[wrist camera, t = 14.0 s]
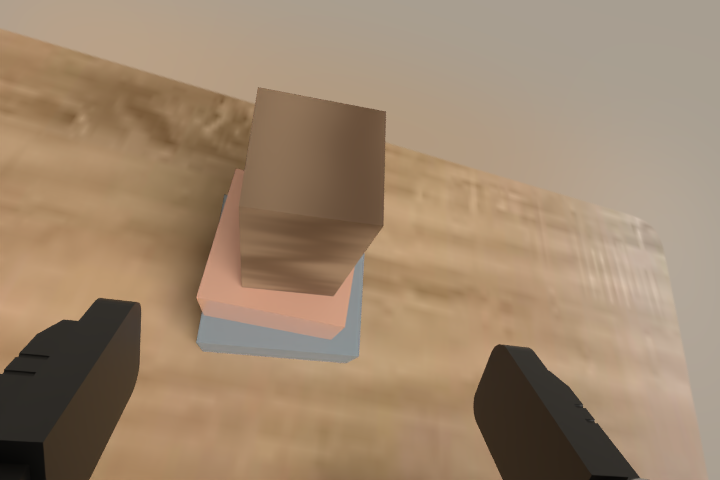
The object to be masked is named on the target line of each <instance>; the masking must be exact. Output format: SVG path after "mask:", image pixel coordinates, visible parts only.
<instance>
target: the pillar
mask: <svg viewBox="0 0 720 480" xmlns="http://www.w3.org/2000/svg"><path fill="white" fill-rule="evenodd" d="M385 121H386V112H385V111H379V110H375V109H369V108H364V107H359V106H353V105H348V104H343V103H337V102H332V101H327V100H321V99H317V98H311V97H306V96H301V95H296V94H290V93H285V92H280V91H275V90H269V89H264V88H258V91H257V97H256V103H255V109H254V115H253V121H252V128H251V134H250V140H249V146H248V152H247V158H246V164H245V171H244V177H243V183H242V189H241V195H240V201H239V228H240V255H241V282H242V287H246V288H255V289H265V290H275V291H285V292H295V293H305V294H315V295H324V296H334V295H335V294H336V292H337V291H338V289H339V288H340V286H341V285H342V284H343V282H344V281H345V279H346V278H347V277H348V275H349V274H350V272H351V271H352V269H353V268H354V267H355V265H356V264H357V262H358V261H359V260H360V258H361V257H362V255H363V254H364V253H365V251H366V250H367V248H368V247H369V245H370V244H371V243H372V241H373V240H374V238H375V237H376V236H377V234H378V233H379V231H380V230H381V229H382V227H383V219H384V173H385V128H386V125H385V124H386V122H385Z"/></svg>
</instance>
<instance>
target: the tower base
mask: <svg viewBox="0 0 720 480" xmlns="http://www.w3.org/2000/svg"><path fill="white" fill-rule="evenodd" d="M227 196H228V195H225V194H224V200H223V205H222V210H221V215H222V212H223V209H224V205H225V202H226V199H227ZM221 215H220V218H221ZM219 222H220V221H219ZM363 269H364V254H363V255H362V257H361V258H360V260H359V261H358V262H357V264H356V265H355V268H354V274H353V280H352V287H351V293H350V299H349V305H348V311H347V317H346V323H345V328H344V329H342V330H341V331H340V332H339V333H338V334H337V335H336V336H335V337H334V338H333V339H331V340H329V339H324V338H318V337H313V336H308V335H303V334H298V333H293V332H288V331H282V330H277V329H272V328H267V327H262V326H257V325H252V324H246V323H241V322H236V321H231V320H226V319H221V318H216V317H210V316H205V315H204V314H203V312H202V315H201V320H200V325H199V331H198V336H197V341H196V343H197V344H198V345H199V347H200V348H201V350H202V351H205V352H217V353H229V354H241V355H253V356H265V357H277V358H289V359H302V360H314V361H326V362H338V363H347V362H349V361H351V360H353V359H355V358H357V357H359V345H360V326H361V307H362V288H363Z"/></svg>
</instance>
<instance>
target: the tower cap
mask: <svg viewBox="0 0 720 480" xmlns="http://www.w3.org/2000/svg"><path fill="white" fill-rule="evenodd" d="M244 171H245V170H241V169H237V168H236V170H235V173H234V176H233V179H232V183H231V186H230V189H229V192H228V196H227V199H226V202H225V205H224V209H223V212H222V215H221V218H220V222H219V225H218V228H217V231H216V235H215V238H214V241H213V244H212V248H211V251H210V254H209V257H208V261H207V264H206V267H205V271H204V274H203V277H202V280H201V284H200V287H199V290H198V293H197V297H196V298H197V301H198V303H199V305H200V307H201V310H202V312H203V314H204V315H205V316H210V317H216V318H221V319H226V320H231V321H236V322H241V323H246V324H252V325H257V326H262V327H267V328H272V329H277V330H282V331H288V332H293V333H298V334H303V335H308V336H313V337H318V338H324V339H329V340H331V339H333V338H334V337H335V336H336V335H337V334H338V333H339V332H340V331H341V330H342V329H344V328H345V323H346V317H347V311H348V305H349V299H350V293H351V287H352V280H353V274H354V268H355V267H354V268H353V269H352V271H351V272H350V274H349V275H348V277H347V278H346V279H345V281H344V282H343V284H342V285H341V286H340V288H339V289H338V291H337V292H336V294H335V295H334V296H324V295H315V294H305V293H295V292H285V291H275V290H265V289H255V288H246V287H242V282H241V255H240V228H239V201H240V195H241V189H242V183H243V177H244Z"/></svg>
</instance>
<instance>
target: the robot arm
mask: <svg viewBox="0 0 720 480" xmlns="http://www.w3.org/2000/svg"><path fill="white" fill-rule="evenodd" d="M140 332H141V306H140V303H138V302H131V301H122V300H113V299H104V298H98V299H97V300H96V301H95V302H94V303H93V304H92V305H91V307H90V308H89V309H88V310H87V312H86V313H85V314H84V315H83V316H82V318H81V319H80V320H79V321H72V320H62V321H60V322H58V323H57V324H55V325H53V326H51V327H49V328H47V329H46V330H44V331H42V332H40V333H38V334H37V335H36V336H35V337H34V338H33V339H32V340H31V341H30V342H29V343H28V345H27V346H26V347H25V348H24V349H23V350H22V351H21V352H20V353H19V357H15V359H14V360H13V361H12V362H11V363H10V364H9V365H8V366H7V367H6V368H5V369H4V373H3V374H0V480H89V479H90V477H91V475H92V473H93V471H94V469H95V467H96V465H97V463H98V461H99V459H100V457H101V455H102V453H103V451H104V449H105V447H106V445H107V443H108V441H109V439H110V437H111V435H112V433H113V431H114V429H115V427H116V425H117V423H118V421H119V419H120V417H121V415H122V412H123V410H124V408H125V406H126V404H127V402H128V400H129V398H130V396H131V394H132V392H133V389H134V387H135V383H136V380H137V376H138V371H139V363H140ZM474 416H475V420H476V422H477V425H478V427H479V429H480V431H481V433H482V435H483V438H484V440H485V442H486V444H487V446H488V448H489V451H490V453H491V455H492V457H493V459H494V461H495V464H496V466H497V468H498V470H499V472H500V475H501V477H502V479H503V480H648V479H641V478H640V477H639V476H638V475H637V473H636V472H635V471H634V469H633V468H632V467H631V466H630V464H629V463H628V462H627V460H626V459H625V458H624V457H623V455H622V454H621V453H620V452H619V450H618V449H617V448H616V446H615V445H614V444H613V443H612V441H611V440H610V439H609V437H608V436H607V435H606V434H605V432H604V431H603V430H602V428H601V427H600V426H599V425H598V423H595V422H594V420H595V419H594V418H593V417H592V416H591V414H590V413H589V412H588V411H587V409H586V408H583V404H582V403H581V402H580V400H579V399H578V398H577V396H576V395H575V394H574V393H573V391H572V390H571V389H570V387H569V386H567V385H566V384H565V383H564V382H562V381H561V380H560V379H559V378H558V377H556V376H555V375H554V374H553V373H551V372H550V371H548V370H547V368H546V367H545V366H544V364H543V363H542V362H541V360H540V359H539V358H538V356H537V355H536V354H535V352H534V351H533V350H532V349H530V348H527V347H518V346H509V345H500V344H499V345H497V346H495V347H494V349H493V350H492V352H491V355H490V357H489V360H488V362H487V365H486V368H485V370H484V373H483V375H482V378H481V380H480V383H479V385H478V388H477V391H476V393H475V397H474Z"/></svg>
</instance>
